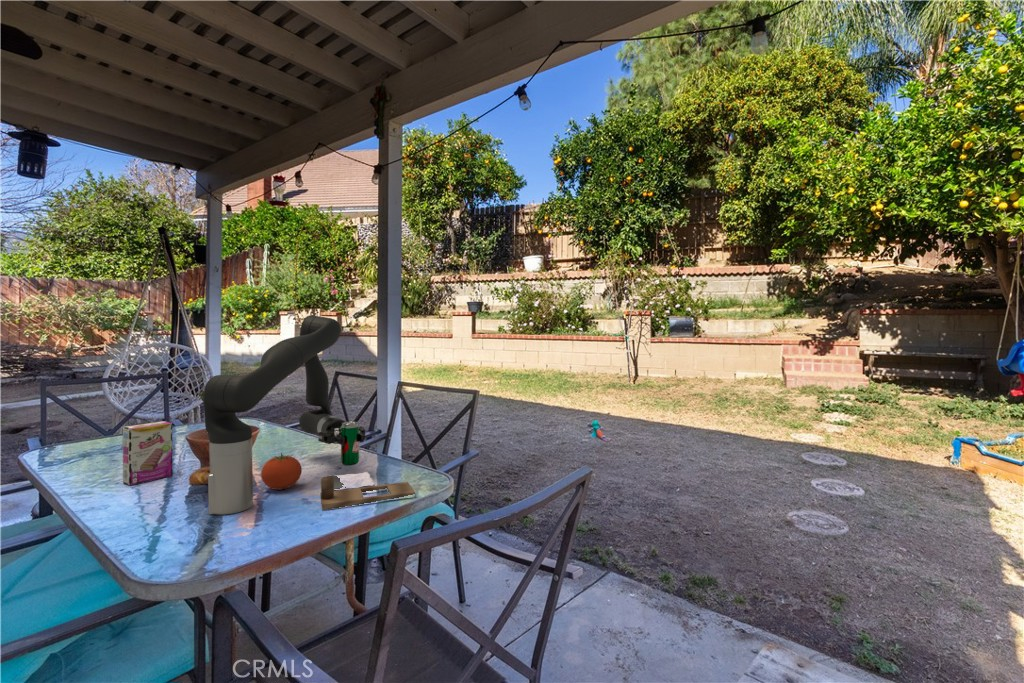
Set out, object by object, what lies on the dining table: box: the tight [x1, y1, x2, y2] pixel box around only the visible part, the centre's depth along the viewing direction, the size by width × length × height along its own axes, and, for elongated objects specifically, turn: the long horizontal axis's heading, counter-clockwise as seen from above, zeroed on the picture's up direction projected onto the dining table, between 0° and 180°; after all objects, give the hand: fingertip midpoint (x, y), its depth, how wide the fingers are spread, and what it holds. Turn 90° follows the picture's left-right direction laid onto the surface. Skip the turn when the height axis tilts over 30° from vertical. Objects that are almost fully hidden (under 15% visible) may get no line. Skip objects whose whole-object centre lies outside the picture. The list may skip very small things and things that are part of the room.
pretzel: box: [188, 466, 210, 486], centre depth 145 cm, size 12×11×4 cm
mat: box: [326, 474, 346, 489], centre depth 143 cm, size 12×13×1 cm
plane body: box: [319, 476, 416, 511], centre depth 130 cm, size 23×9×6 cm, turn 114°
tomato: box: [260, 452, 303, 491], centre depth 137 cm, size 10×10×10 cm
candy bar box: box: [121, 420, 173, 486], centre depth 144 cm, size 11×5×16 cm, turn 149°
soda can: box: [340, 421, 360, 467], centre depth 143 cm, size 5×5×12 cm
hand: (353, 440), depth 141 cm, fingers closed on soda can, 5 cm apart
